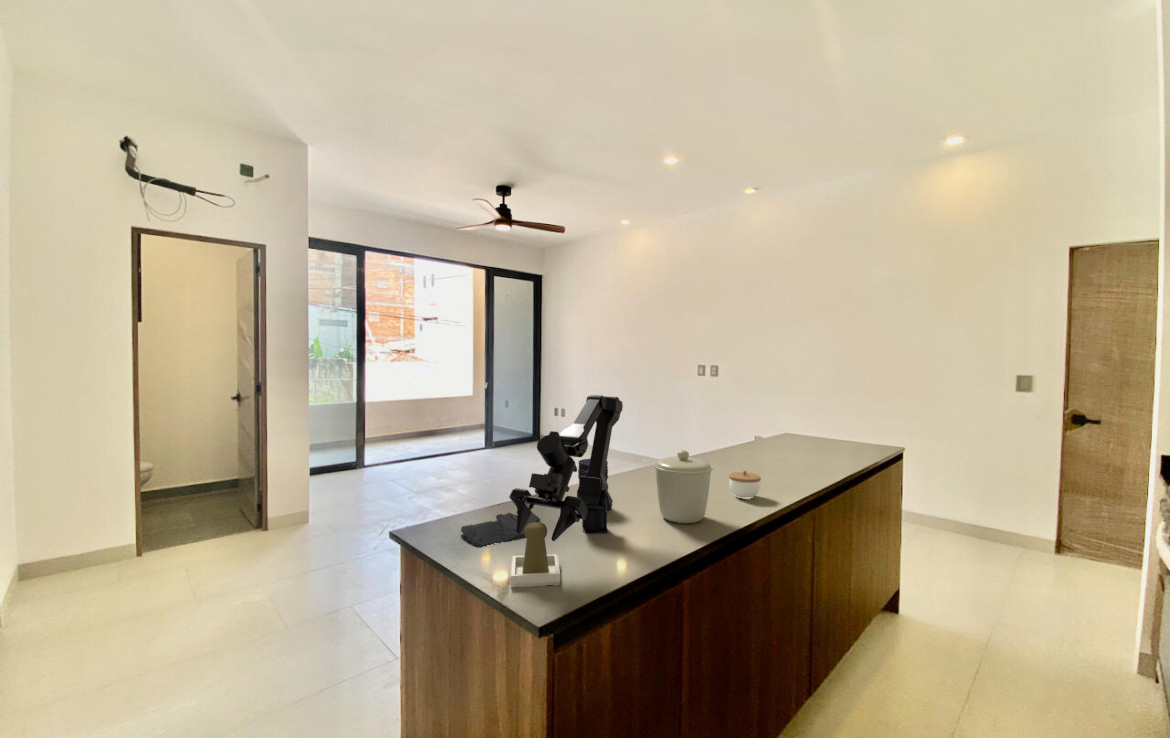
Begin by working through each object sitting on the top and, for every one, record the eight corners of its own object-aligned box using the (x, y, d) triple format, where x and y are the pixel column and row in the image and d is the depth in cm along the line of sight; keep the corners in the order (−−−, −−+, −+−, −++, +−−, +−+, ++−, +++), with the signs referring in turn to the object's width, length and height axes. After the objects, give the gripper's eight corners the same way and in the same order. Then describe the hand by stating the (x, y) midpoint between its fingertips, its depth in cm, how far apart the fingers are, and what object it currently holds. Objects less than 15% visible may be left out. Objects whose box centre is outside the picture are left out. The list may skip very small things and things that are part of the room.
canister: (643, 512, 158) (643, 446, 157) (693, 507, 164) (693, 443, 163) (669, 531, 141) (670, 458, 140) (724, 525, 146) (725, 454, 146)
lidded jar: (739, 491, 183) (740, 466, 183) (766, 497, 175) (766, 471, 174) (722, 496, 176) (722, 470, 176) (749, 503, 168) (749, 476, 167)
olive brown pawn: (517, 569, 113) (518, 522, 113) (541, 563, 117) (541, 517, 116) (529, 579, 108) (529, 530, 108) (553, 573, 112) (553, 525, 111)
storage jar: (572, 508, 162) (572, 462, 161) (587, 500, 170) (588, 457, 169) (598, 513, 156) (598, 466, 156) (613, 505, 165) (613, 460, 164)
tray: (557, 564, 118) (557, 554, 118) (560, 585, 108) (560, 573, 108) (512, 566, 117) (512, 556, 117) (510, 587, 106) (510, 576, 106)
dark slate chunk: (454, 533, 140) (454, 516, 139) (524, 519, 152) (524, 503, 152) (475, 551, 127) (475, 533, 127) (549, 534, 140) (549, 517, 139)
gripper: (513, 455, 120) (485, 513, 110) (582, 463, 112) (559, 526, 102) (530, 479, 127) (506, 536, 118) (596, 488, 119) (576, 550, 110)
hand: (534, 537), depth 112 cm, fingers open, 9 cm apart
